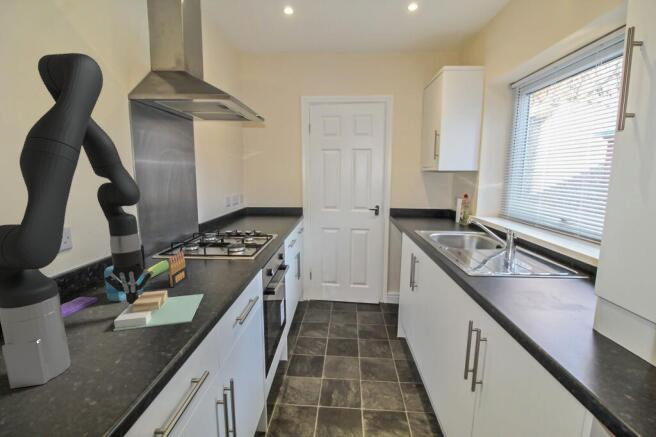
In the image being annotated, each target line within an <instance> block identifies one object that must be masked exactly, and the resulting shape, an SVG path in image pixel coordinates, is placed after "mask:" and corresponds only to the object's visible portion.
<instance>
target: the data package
mask: <svg viewBox="0 0 656 437" xmlns="http://www.w3.org/2000/svg"><path fill="white" fill-rule="evenodd" d="M113 268H114V267H113V265H110V266H108V267H106V268H105V269H104V270H103V271H104V272H103V275H104V276H103V277H104V283H105V291H106V296H107V297H106V298H107V300H108V301H109V302H124V301H127V299H126V293H125V292H119V291H117V290H116V289H115V288H114V287H113V286H111V285H110V284H109V283H108V282H107V281H106V280H105V278H106V277H107V276H109V275H111V274H112V270H113ZM117 279H118V278H117ZM118 280H119V279H118ZM142 280H143V273H142V275H141V276H140V278H139V282H138V285H139V284H140V283H141V282H142ZM119 281H120V280H119ZM120 282H121V281H120ZM121 283H122V282H121ZM144 288H145V286H144V287H143V288H142V289H141V290H138V294H139V293H140V292H142V291H143V290H144Z"/></svg>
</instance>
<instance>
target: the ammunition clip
mask: <svg viewBox="0 0 656 437" xmlns="http://www.w3.org/2000/svg"><path fill="white" fill-rule="evenodd" d="M168 263H169V268H168V285H169V286H168V287H169V288H174V289H175V288H176V287H177V286H178V285H180V284H181V283H183V282H184V281H185V280H187V279H188V278H189V277H188V271H187V270H188V268H187V266H186V260H185V256H184V252H183V250H181V251H179V252H178V253H176V254H174V255H171V256H169V257H168Z"/></svg>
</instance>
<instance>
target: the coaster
mask: <svg viewBox="0 0 656 437" xmlns="http://www.w3.org/2000/svg"><path fill="white" fill-rule="evenodd" d="M140 295H141V296H140V297H139V298H138V299H137V300H136V301H135V302H134V303H133V304H132V307H133V312H140V311H149V310H158V309H160V307H161V306H162V305H163V303H164V302H165V301H166V299H167V298H168V297H169V296H168V295H169V294H168V290H157V291H146V292H142V293H141V294H140Z"/></svg>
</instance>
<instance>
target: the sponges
mask: <svg viewBox="0 0 656 437" xmlns="http://www.w3.org/2000/svg"><path fill="white" fill-rule="evenodd" d="M97 302H98V297H93V296H92V297H90V296H89V297H85V296H80V297H77V298H74V299H73V300H70V301H68V302H65V303H62V304H61V310H62V316H63V318H64V317H66V316H69V315H70V314H71V315H72V314H73V313H75V312H77V311H79V310H82V309H84V308H86V307H88V306H91V305H93V304H95V303H97Z"/></svg>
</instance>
